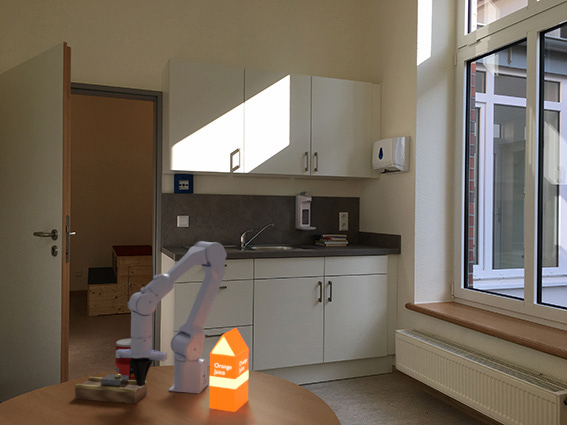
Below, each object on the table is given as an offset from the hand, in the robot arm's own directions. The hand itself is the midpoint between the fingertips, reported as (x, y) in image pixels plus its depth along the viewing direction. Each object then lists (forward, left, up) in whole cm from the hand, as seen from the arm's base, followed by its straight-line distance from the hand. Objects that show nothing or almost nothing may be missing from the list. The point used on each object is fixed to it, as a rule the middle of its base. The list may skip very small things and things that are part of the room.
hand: (140, 384), depth 137 cm
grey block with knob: (+8, 0, -1) cm, 8 cm away
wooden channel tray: (+9, 0, -4) cm, 10 cm away
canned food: (+13, -17, -4) cm, 22 cm away
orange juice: (-25, -2, -4) cm, 25 cm away
